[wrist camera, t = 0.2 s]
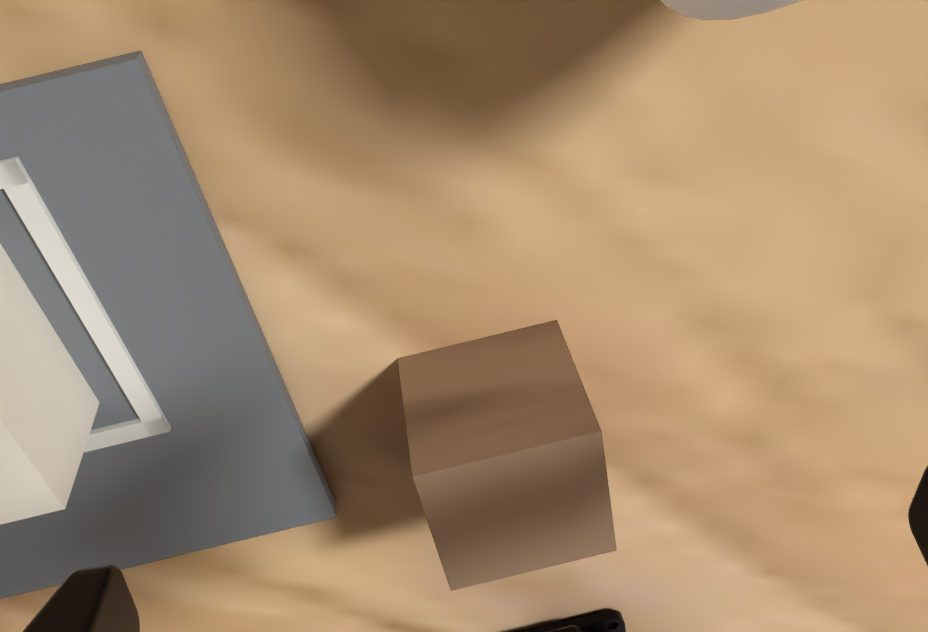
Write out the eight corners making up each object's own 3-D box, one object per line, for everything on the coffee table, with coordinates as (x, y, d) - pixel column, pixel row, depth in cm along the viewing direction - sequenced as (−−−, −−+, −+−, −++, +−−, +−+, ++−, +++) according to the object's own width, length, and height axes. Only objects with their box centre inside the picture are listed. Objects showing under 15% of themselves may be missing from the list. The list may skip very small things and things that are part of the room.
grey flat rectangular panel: (336, 503, 28) (336, 521, 28) (-18, 589, 28) (-26, 609, 28) (141, 50, 19) (134, 61, 18) (-392, 178, 19) (-417, 194, 18)
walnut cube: (573, 432, 28) (616, 550, 24) (431, 467, 28) (450, 590, 24) (556, 318, 25) (601, 431, 21) (397, 356, 25) (412, 476, 21)
